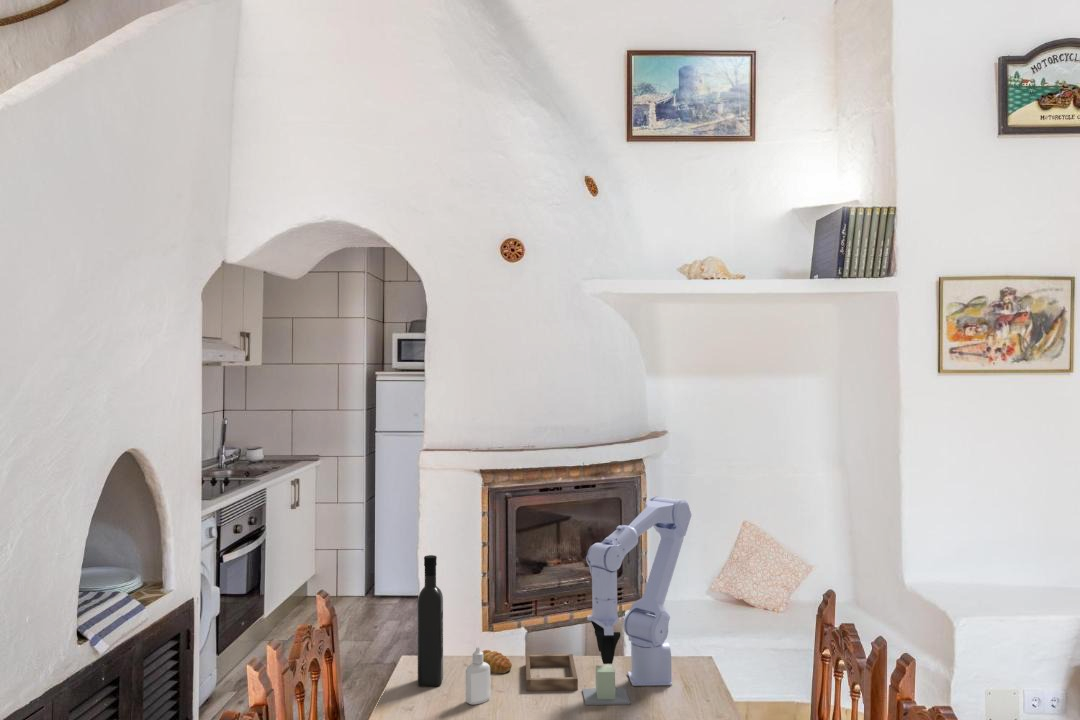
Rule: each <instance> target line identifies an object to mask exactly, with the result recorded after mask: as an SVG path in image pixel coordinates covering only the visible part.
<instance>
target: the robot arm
mask: <svg viewBox="0 0 1080 720" xmlns="http://www.w3.org/2000/svg"><path fill="white" fill-rule="evenodd" d="M644 504H645V505H644V508H643V510H642V511H641V512H640V513H639V514H638V515H637V516H636V517H635V518H634V519H632V521H631V522H630V523H629V525H627V524H621V525H620V524H619V525H617V526H616V528H615V529H616V530H614V531H613V532H612V533H611V534H609V535H608V536H606V537H605V538H604V539H603V540H602V541H601V542H595V543H594V544H592V545H590V547H589V548H588V550H587V554H586V555H585V561H586V563H587V566H588V567H589V574H590V575H591V594H592V595H591V596H592V598H591V601H592V606H591V607H592V613H591V614H588V615H587V616H586V617H587V621H589V622H590V623H591V625H592V627H593V629H594V635H595V638H596V645H597V648H598V652H600V657H601V662H602V665H613V663H614V660H615V659H614V658H615V651H616V648H617V644H618V642H619V640H620V639H621V632H620V631H615V630H614V627H615V626H616V624H617V623H618V621H619V614H618V570H619V569H620V568H621V565H622V564H623V560H624V559H625V557H626V555H627V554H628V553H629V552H630V551H632V549H634V548H635V547H636V546H637V545H638V543H639V537H640V536H642V534H644V533H646V532H647V531H648V530H649V529H651V528H652V527H653V528H654V530H655V531H656V532H657V533H658V534H659V536H660V541H659V544H658V546H657V550H656V554H655V557H654V560H653V563H652V566H651V569H650V572H649V576H648V579H647V582H646V585H645V588H644V590H643V594H642V597H641V598H639V599H638V600H636V601H634V602H632V604H631V606H630V608H629V610H628V612H627V614H626V615H625V617H624V620H623V632H624V633H625V635H626V636H628V642H630V663H631V664H630V665H631V666H630V669H631V671H629V670H628V671H627V675H628V677H629V681H630V683H631V685H632V686H634V687H641V686H643V687H645V686H673V682H672V681H673V679H672V678H673V677H672V676H673V675H672V652H671V645H670V642H668V641H666V640H667V639H668V635H669V625H670V624H669V622H670V619H671V616H670V614H669V612H668V611H667V609H666V608H665V605H664V604H665V601H666V598H667V596H668V595H667V594H668V592H669V588H670V585H671V581H672V578H673V576H674V571H675V568H676V565H677V562H678V559H679V555H680V552H681V549H682V545H683V542H684V538H685V536H686V534H687V531H688V528H689V526H690V525H689V524H690V521H691V518H692V512H691V509H690V505H689V503H688V502H687V500H685V499H677V498H676V499H674V498H667V497H660V496H656V495H653V496H652V497H650V498H649V500H647V501H645V503H644Z"/></svg>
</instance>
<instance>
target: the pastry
mask: <svg viewBox="0 0 1080 720" xmlns="http://www.w3.org/2000/svg"><path fill="white" fill-rule="evenodd" d="M481 652H483V662H486V663H487V664H489V666H490V673H494V674H506V673H507V672H509V671H511V670H512V667H513V665H512V662H511V660H510V659H509V658H507V656H505V655H503V654H502V653H501V652H498V651H496V650H493V651H491V650H489V649H485V650H483V651H482V650H481Z"/></svg>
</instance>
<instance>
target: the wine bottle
mask: <svg viewBox="0 0 1080 720" xmlns="http://www.w3.org/2000/svg"><path fill="white" fill-rule="evenodd" d="M437 558H438V557H437V555H433V554H431V555H430V554H428V555H425V556H424V557H423V561H424V564H423V565H424V586H423V588H421V590H420V592H419V595H418V596H417V685H419V687H421V686H427V687H440V686H441V685H442V684H443V681H444V680H443V679H444V595H443V592H442V591H441V589H440V588H439V587H438V586H437V564H438V563H437Z"/></svg>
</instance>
